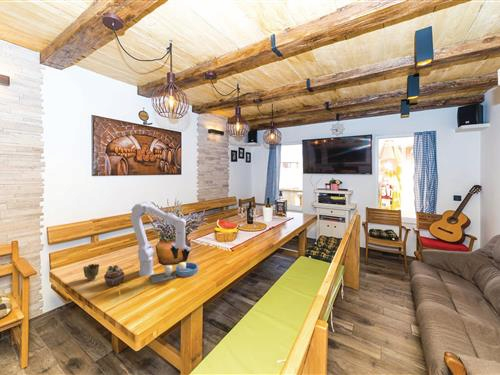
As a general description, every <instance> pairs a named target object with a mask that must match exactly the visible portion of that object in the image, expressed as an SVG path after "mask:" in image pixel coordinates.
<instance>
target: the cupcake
mask: <svg viewBox="0 0 500 375" xmlns="http://www.w3.org/2000/svg"><path fill="white" fill-rule="evenodd" d="M124 276H125V272H124V271H123V269H122V268H120V266H118V265H110V266H108V267H107V271H106V272H105V274H104V276H103V278H104V282H105V285H106V287H108V288H111V287H117V286H119V285H121V284H122V283H123V282H124Z"/></svg>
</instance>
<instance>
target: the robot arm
mask: <svg viewBox="0 0 500 375" xmlns="http://www.w3.org/2000/svg"><path fill="white" fill-rule="evenodd" d="M145 214H153V215H156V217H160V218H162V219H163V221H164V222H165V223H167V224H168V225H171V226H174V228H175V242H172V243H170V248H169V249H170V251H171V253H172V256H173V259H174V260H176V259H178V256H179V249H180V250H181V254H182V262H185V263H186V262H187V260H188V256H189V254H190V252H191V246H188V245H187V244H186V227H187V220H186V219H185V218H184V217H180V216H176V215H175V214H174V213H173V212H168V213H166V212H165V211H163V210H161V209H159V208H157V207H156V206H155V205H152V204H151V203H148V202H146V201H143V202H141V203H137V204H134V206H133V207H132V208H131V216H130V221H131V224H132V228H133V231H134V234H135V237H136V241H137V244H138V249H137V253H138V254H137V258H138V260H139V270H138V273H139V278H142V277H147V276H150V275H154V274H155V271H154V265H153V264H154V263H153V261H154V257H153V255H155V248H153V247H152V244H151V243H150V242H149V240H148V237H147V234H146V231H145V228H144V224H143V220H142V218H143V216H144V215H145Z"/></svg>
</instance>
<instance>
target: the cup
mask: <svg viewBox="0 0 500 375" xmlns="http://www.w3.org/2000/svg"><path fill="white" fill-rule="evenodd" d="M82 270H83V274H84V277H85V278H86V279H87V280H88V281H94V280H95V279H96V277H97V276H98V274H99V270H100V264H99V263H97V264H96V263H94V264H93V263H91V264H88V265H87V266H86V265H85V266H83V268H82Z"/></svg>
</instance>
